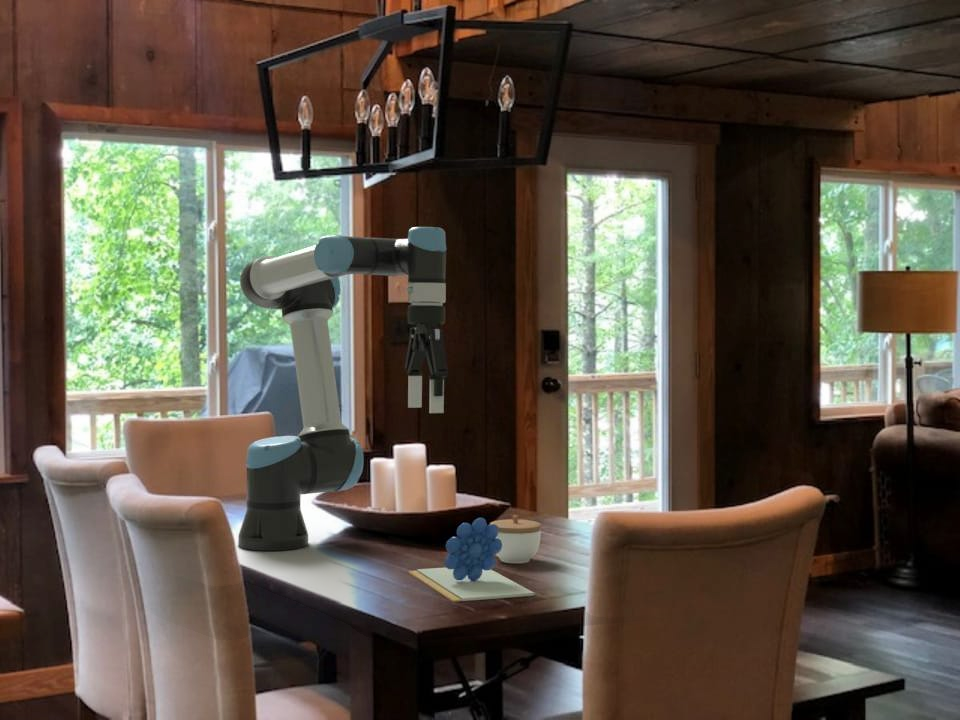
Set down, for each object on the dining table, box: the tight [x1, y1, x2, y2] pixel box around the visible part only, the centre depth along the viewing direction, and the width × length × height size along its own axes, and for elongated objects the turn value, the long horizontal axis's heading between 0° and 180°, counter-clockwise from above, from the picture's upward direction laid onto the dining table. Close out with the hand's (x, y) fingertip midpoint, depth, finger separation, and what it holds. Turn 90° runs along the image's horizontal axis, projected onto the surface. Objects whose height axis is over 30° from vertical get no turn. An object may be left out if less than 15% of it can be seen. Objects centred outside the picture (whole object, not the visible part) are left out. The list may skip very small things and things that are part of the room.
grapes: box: [443, 517, 502, 581], centre depth 238 cm, size 12×7×12 cm, turn 112°
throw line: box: [407, 570, 462, 603], centre depth 235 cm, size 26×2×1 cm, turn 21°
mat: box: [416, 567, 535, 602], centre depth 238 cm, size 26×14×1 cm, turn 21°
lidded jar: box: [489, 514, 542, 564], centre depth 260 cm, size 11×11×9 cm
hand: (425, 410), depth 251 cm, fingers open, 13 cm apart
